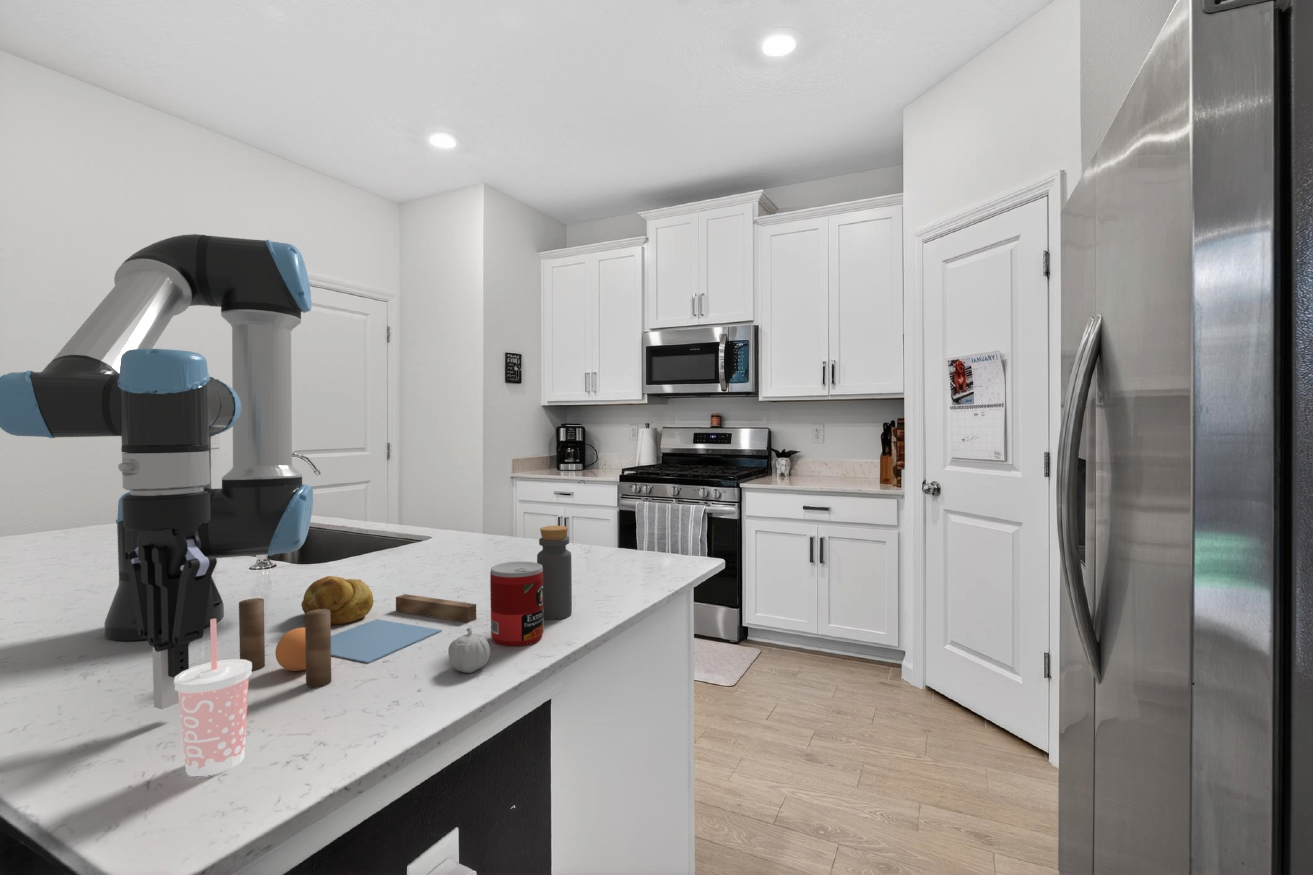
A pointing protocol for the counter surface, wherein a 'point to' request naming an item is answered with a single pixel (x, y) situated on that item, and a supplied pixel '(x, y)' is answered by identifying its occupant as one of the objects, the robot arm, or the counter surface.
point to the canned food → (516, 603)
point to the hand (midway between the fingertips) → (171, 702)
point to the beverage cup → (213, 712)
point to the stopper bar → (436, 607)
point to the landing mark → (376, 640)
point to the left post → (252, 632)
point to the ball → (292, 650)
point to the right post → (318, 647)
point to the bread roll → (339, 598)
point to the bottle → (556, 572)
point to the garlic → (469, 652)
